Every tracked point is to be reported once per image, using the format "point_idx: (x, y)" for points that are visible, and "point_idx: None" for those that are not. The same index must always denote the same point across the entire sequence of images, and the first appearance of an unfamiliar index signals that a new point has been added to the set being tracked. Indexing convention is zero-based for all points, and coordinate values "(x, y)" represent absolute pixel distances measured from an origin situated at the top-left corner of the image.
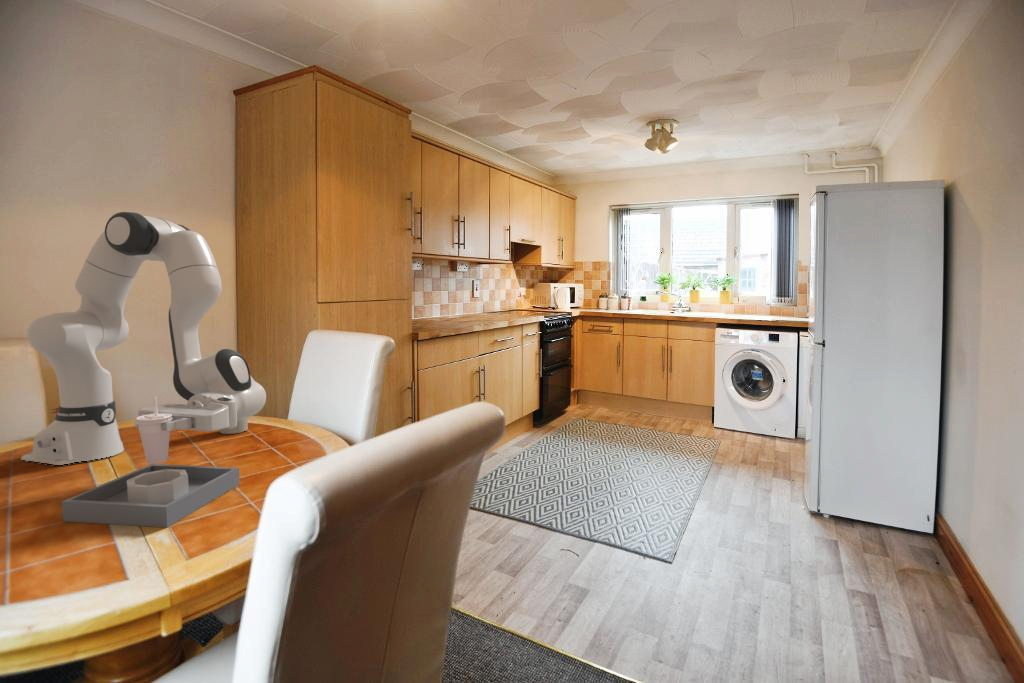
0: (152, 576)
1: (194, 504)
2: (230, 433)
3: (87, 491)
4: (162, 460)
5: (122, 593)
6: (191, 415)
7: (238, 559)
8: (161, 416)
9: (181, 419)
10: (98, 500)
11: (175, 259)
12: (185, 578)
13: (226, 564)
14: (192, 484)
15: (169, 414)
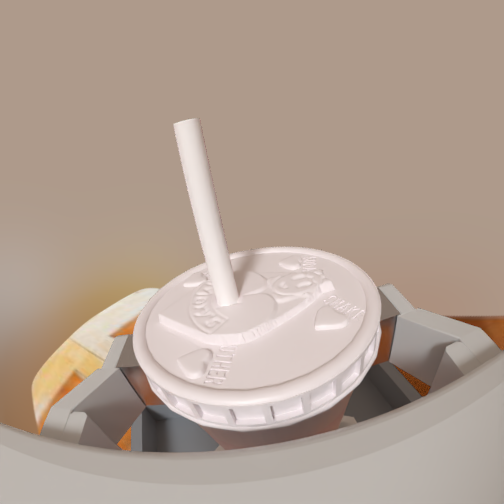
0: (92, 344)
1: None
2: None
3: (386, 363)
4: None
5: (101, 325)
6: (20, 430)
7: (33, 380)
8: (169, 306)
9: (76, 398)
10: (386, 396)
11: None
12: (64, 350)
13: (40, 372)
14: None
15: (195, 385)
